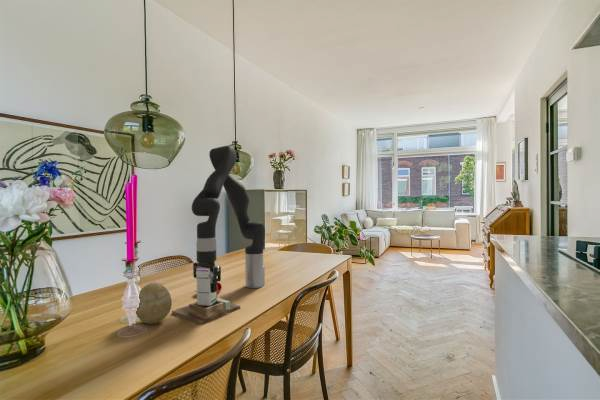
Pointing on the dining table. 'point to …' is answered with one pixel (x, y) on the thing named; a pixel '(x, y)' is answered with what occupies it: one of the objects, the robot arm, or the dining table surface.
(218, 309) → the housing
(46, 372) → the dining table surface
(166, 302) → the fossilized egg
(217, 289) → the alarm clock
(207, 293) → the syrup box
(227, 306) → the bar
